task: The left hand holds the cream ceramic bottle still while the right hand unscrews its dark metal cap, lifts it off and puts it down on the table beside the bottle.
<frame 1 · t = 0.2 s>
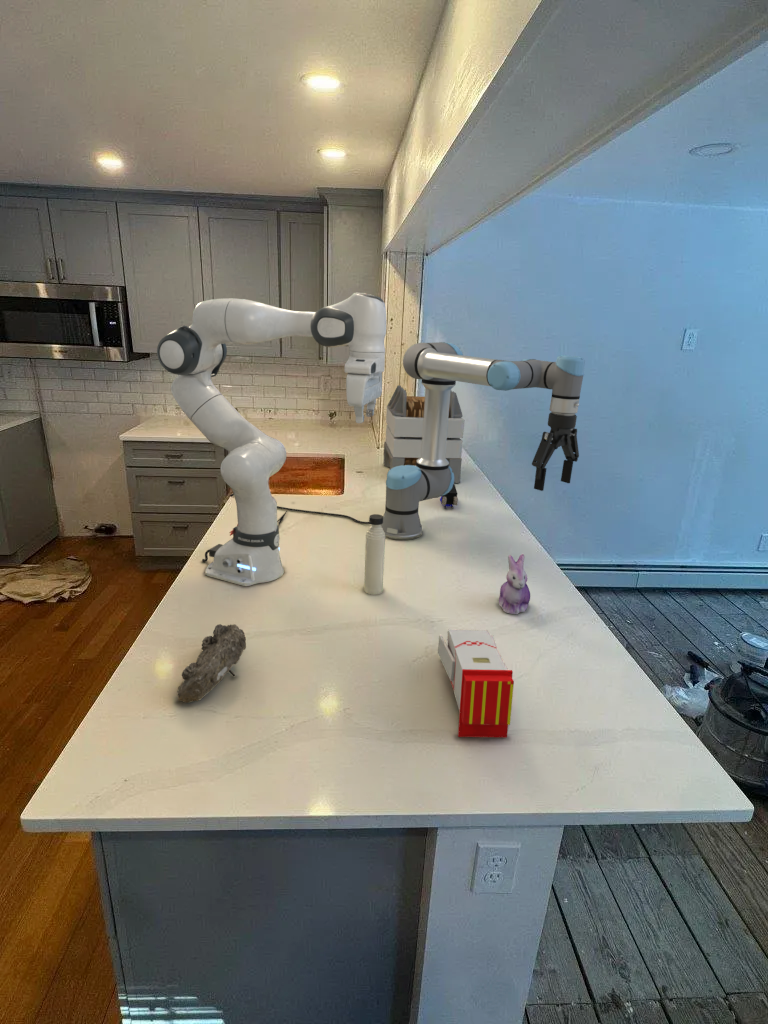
left hand: (364, 419, 144), 48 cm above the counter, tool pointing down, fingers open, 8 cm apart
right hand: (552, 485, 166), 28 cm above the counter, tool pointing down, fingers open, 13 cm apart
figurine: (513, 607, 154), on the counter
fossil: (217, 674, 120), on the counter
figurine character: (447, 505, 232), on the counter
grey slatted crate: (419, 473, 275), on the counter
toy: (469, 691, 119), on the counter
feather: (285, 514, 213), on the counter
bottle: (373, 590, 159), on the counter
cap: (376, 517, 152), point 22 cm above the counter, screwed on, not yet turned
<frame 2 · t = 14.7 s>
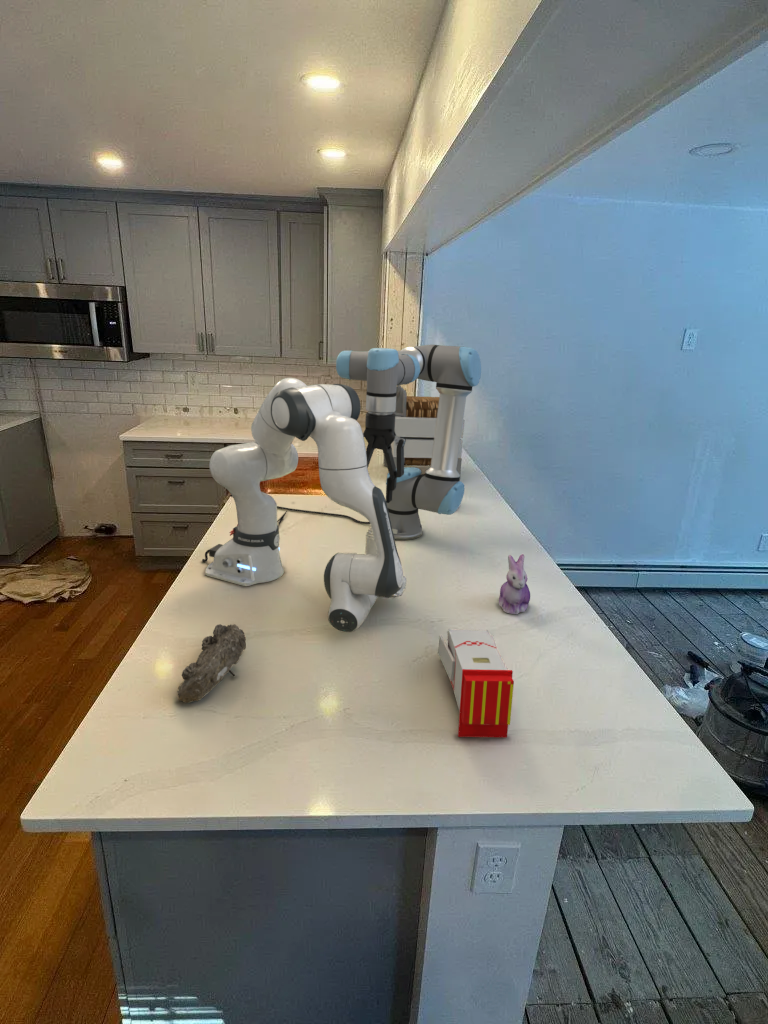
left hand: (374, 568, 158), 6 cm above the counter, tool horizontal, fingers closed on bottle, 5 cm apart
right hand: (377, 499, 150), 27 cm above the counter, tool pointing down, fingers open, 6 cm apart
bottle: (373, 590, 159), on the counter, touching left hand
everything else where it was.
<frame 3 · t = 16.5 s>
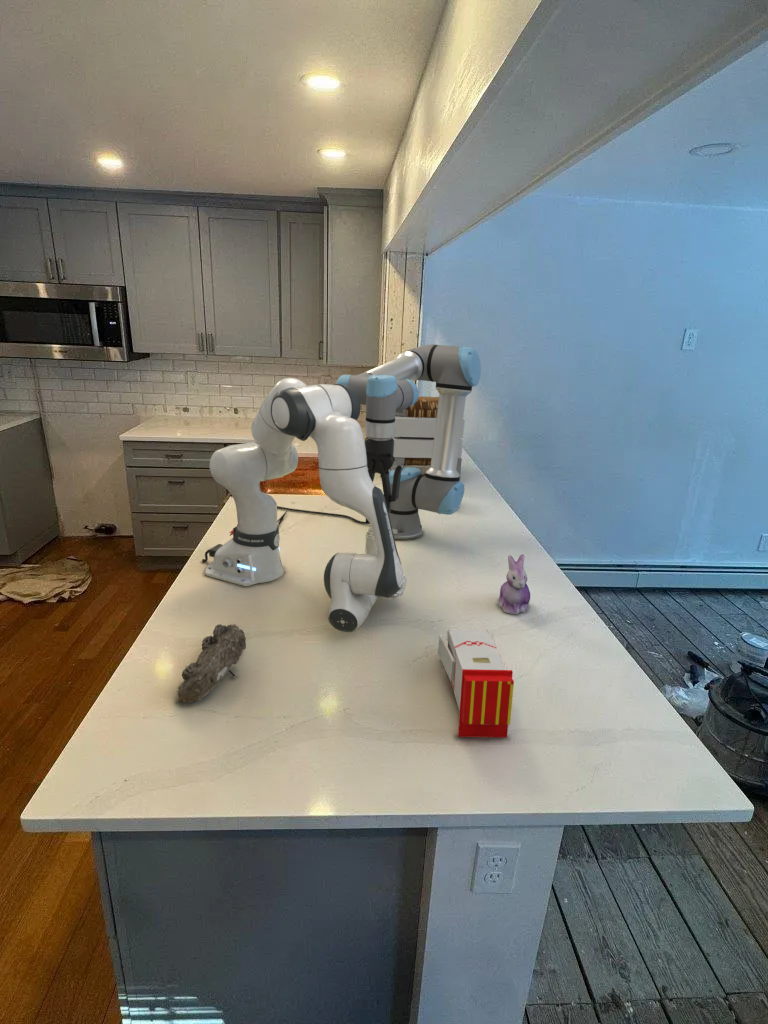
left hand: (374, 568, 158), 6 cm above the counter, tool horizontal, fingers closed on bottle, 5 cm apart
right hand: (376, 522, 153), 20 cm above the counter, tool pointing down, fingers closed on cap, 4 cm apart
bottle: (373, 590, 159), on the counter, touching left hand
cap: (376, 517, 152), point 22 cm above the counter, screwed on, not yet turned, touching right hand
everything else where it was.
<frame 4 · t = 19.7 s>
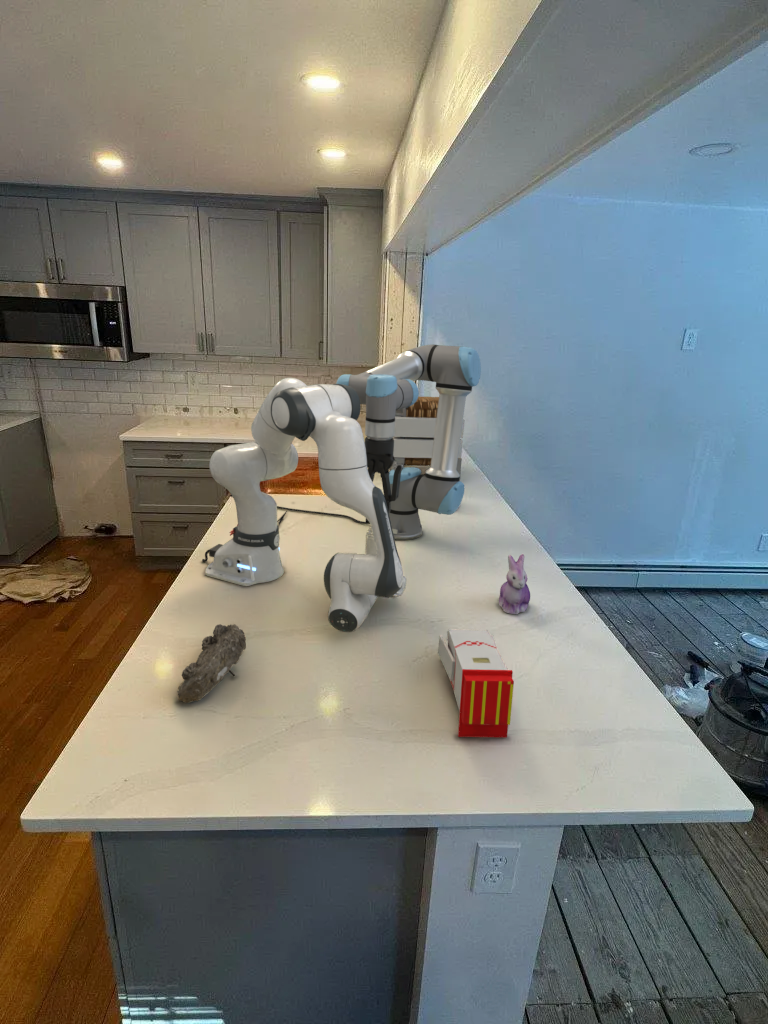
left hand: (374, 568, 158), 6 cm above the counter, tool horizontal, fingers closed on bottle, 5 cm apart
right hand: (376, 522, 152), 20 cm above the counter, tool pointing down, fingers closed on cap, 4 cm apart
bottle: (373, 590, 159), on the counter, touching left hand
cap: (376, 517, 152), point 22 cm above the counter, turned 110° so far, risen 0.1 cm, still on its thread, touching right hand
everything else where it was.
when the right hand's fingers open (1 cm above the counter, at t = 32.8 s): cap drops 1 cm, point 1 cm above the counter.
when the left hand's fingers open (6 cm above the counter, at t = 34.2 s): bottle stays where it is, on the counter.
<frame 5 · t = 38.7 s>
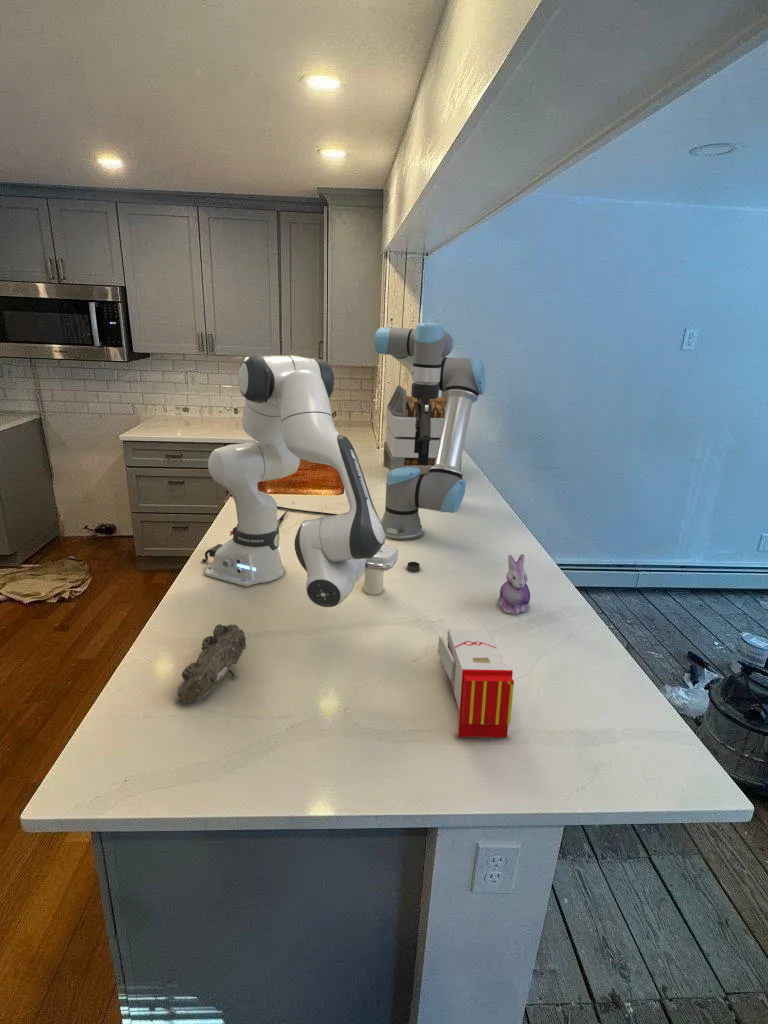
left hand: (363, 540, 141), 20 cm above the counter, tool horizontal, fingers open, 8 cm apart
right hand: (420, 458, 161), 35 cm above the counter, tool pointing down, fingers open, 13 cm apart
bottle: (373, 590, 159), on the counter
cap: (413, 565, 173), point 1 cm above the counter, off its thread
everything else where it was.
at the end: cap came off its thread; cap point 1.4 cm above the counter; the left hand is holding nothing; the right hand is holding nothing; bottle tilted 0°; bottle moved 0.0 cm from its start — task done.
